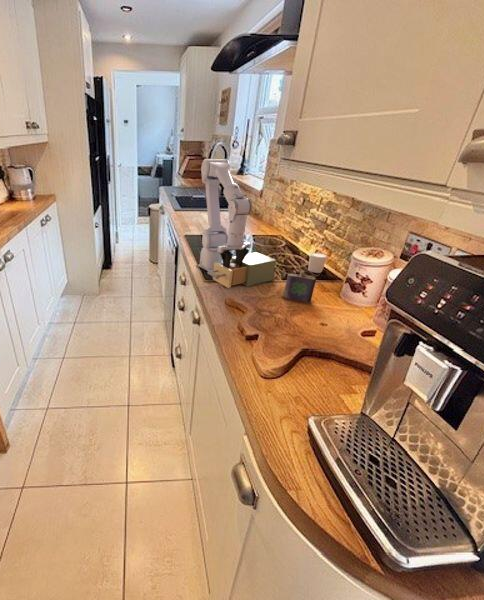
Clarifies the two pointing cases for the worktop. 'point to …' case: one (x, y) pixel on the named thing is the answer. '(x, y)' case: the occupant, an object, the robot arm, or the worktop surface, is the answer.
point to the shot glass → (317, 262)
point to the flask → (299, 287)
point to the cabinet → (258, 268)
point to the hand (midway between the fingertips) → (231, 268)
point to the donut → (233, 266)
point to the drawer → (229, 274)
